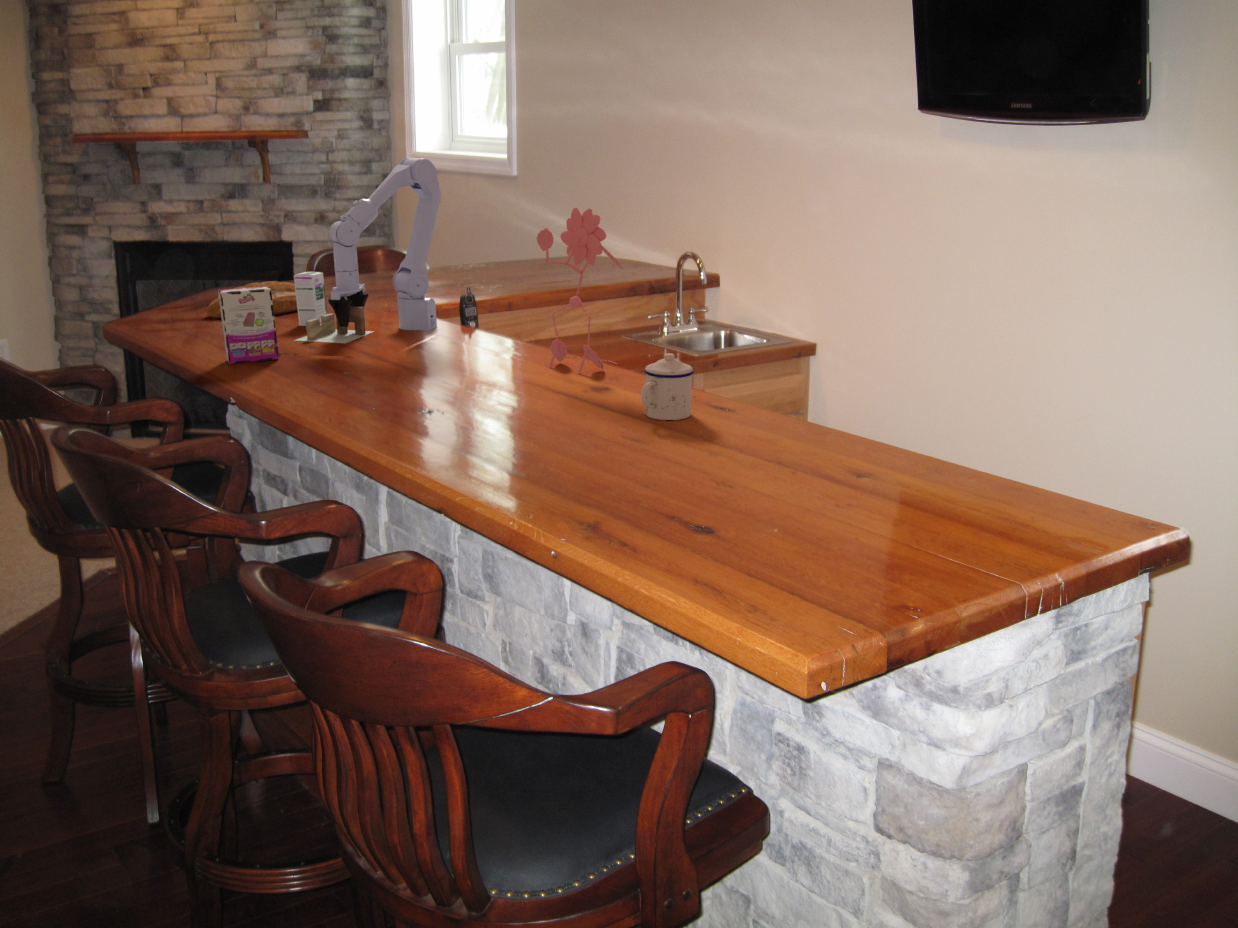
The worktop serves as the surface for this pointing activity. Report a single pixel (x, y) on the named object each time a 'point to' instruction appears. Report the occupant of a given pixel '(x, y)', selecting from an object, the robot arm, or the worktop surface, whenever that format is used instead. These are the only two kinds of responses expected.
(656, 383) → the teacup with lid
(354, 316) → the wooden c-clamp shape
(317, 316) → the syrup box
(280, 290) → the bread
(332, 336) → the board
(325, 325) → the wooden u-shaped block
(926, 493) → the worktop surface
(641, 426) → the worktop surface
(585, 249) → the figurine
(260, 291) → the candy bar box
